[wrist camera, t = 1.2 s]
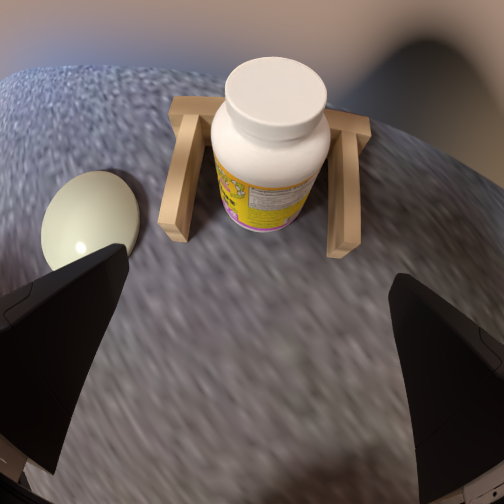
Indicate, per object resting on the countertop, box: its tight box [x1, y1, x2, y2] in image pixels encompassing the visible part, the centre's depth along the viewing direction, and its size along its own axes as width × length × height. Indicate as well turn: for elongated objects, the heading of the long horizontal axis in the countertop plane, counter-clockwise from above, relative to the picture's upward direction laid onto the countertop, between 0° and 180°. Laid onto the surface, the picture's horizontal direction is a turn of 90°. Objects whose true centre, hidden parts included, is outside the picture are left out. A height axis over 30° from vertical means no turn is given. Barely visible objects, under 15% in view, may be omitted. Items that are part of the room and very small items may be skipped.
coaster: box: [41, 171, 140, 271], centre depth 23 cm, size 10×10×1 cm
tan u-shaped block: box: [158, 96, 371, 258], centre depth 23 cm, size 11×16×4 cm
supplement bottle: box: [211, 57, 330, 232], centre depth 18 cm, size 7×7×13 cm
